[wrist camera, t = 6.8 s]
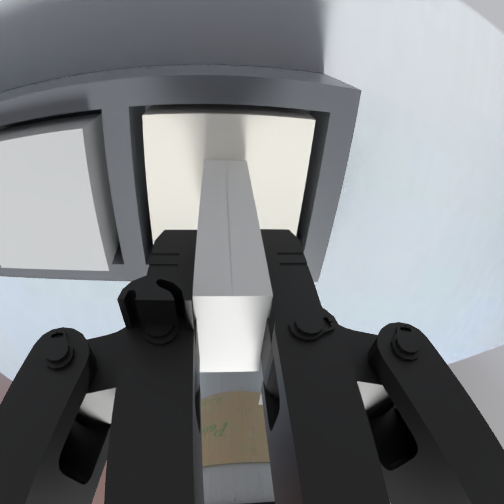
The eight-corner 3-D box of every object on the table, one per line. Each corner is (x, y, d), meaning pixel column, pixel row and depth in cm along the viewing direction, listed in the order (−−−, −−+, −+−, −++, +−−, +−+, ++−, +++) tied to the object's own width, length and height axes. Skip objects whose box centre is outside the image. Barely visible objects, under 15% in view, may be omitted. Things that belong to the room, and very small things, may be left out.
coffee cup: (183, 321, 23) (178, 534, 11) (304, 331, 25) (346, 519, 13) (176, 382, 28) (175, 534, 16) (271, 388, 30) (292, 530, 18)
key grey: (102, 113, 10) (82, 128, 9) (119, 242, 14) (109, 270, 12) (-12, 132, 10) (-38, 150, 8) (18, 242, 13) (1, 267, 12)
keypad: (323, 73, 13) (361, 90, 10) (299, 227, 18) (317, 281, 15) (-74, 120, 10) (-117, 149, 7) (-42, 230, 16) (-73, 271, 12)
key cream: (302, 107, 12) (315, 120, 10) (285, 228, 16) (292, 254, 14) (153, 103, 11) (142, 115, 10) (161, 227, 15) (154, 253, 13)
